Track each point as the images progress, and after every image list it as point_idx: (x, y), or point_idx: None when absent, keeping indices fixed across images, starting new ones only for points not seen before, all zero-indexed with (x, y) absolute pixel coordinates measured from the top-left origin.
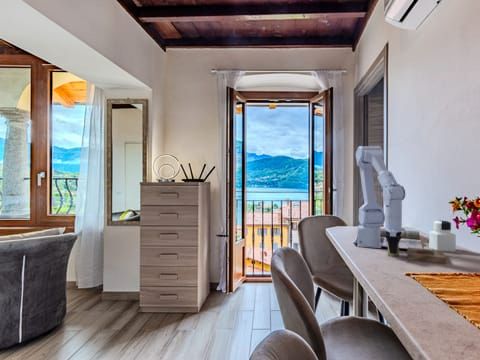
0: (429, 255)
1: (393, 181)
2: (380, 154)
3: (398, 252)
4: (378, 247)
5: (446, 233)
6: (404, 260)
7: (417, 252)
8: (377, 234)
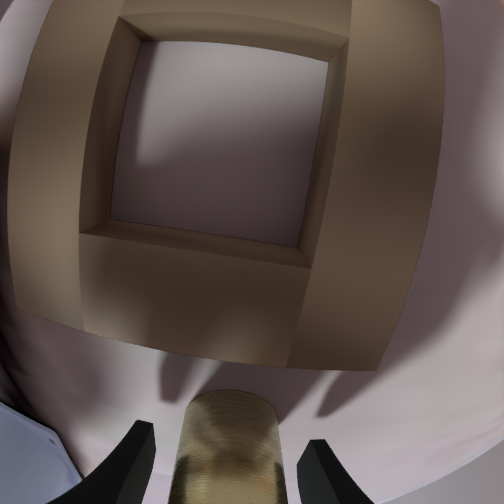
0: (398, 123)
1: None
2: None
3: (258, 426)
4: (58, 442)
5: None
6: None
7: (95, 209)
8: (12, 492)
